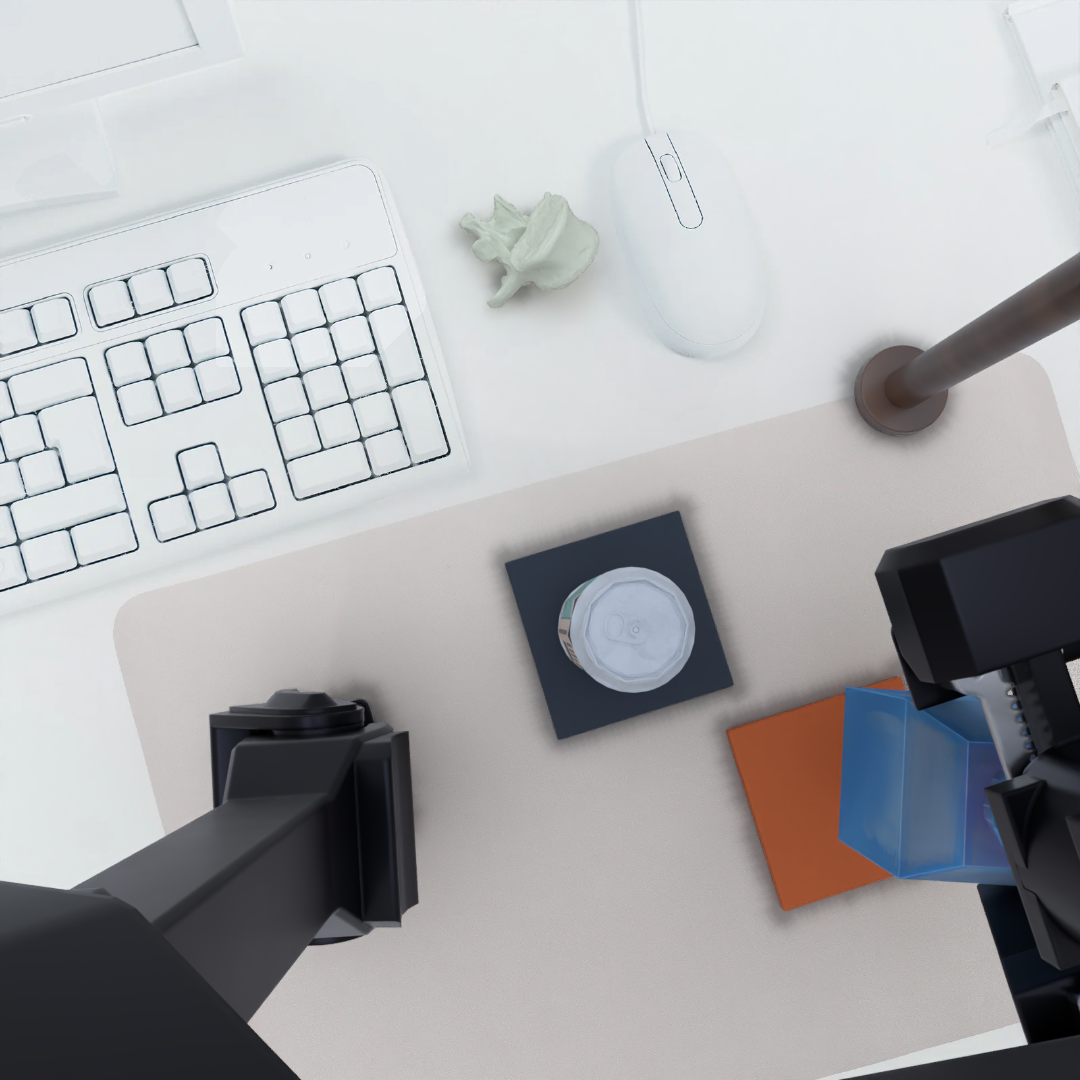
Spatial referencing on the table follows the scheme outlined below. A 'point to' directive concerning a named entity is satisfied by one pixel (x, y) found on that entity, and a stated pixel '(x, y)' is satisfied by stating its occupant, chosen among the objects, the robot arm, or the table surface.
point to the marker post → (963, 353)
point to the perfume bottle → (921, 788)
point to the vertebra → (533, 245)
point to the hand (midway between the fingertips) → (956, 784)
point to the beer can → (628, 629)
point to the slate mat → (568, 566)
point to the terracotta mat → (802, 799)
